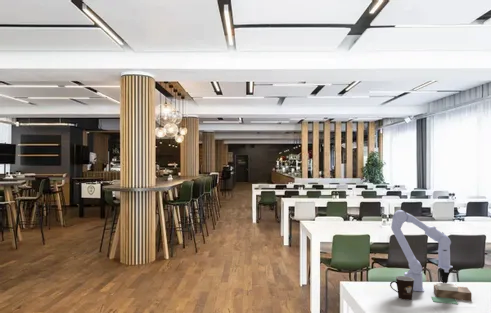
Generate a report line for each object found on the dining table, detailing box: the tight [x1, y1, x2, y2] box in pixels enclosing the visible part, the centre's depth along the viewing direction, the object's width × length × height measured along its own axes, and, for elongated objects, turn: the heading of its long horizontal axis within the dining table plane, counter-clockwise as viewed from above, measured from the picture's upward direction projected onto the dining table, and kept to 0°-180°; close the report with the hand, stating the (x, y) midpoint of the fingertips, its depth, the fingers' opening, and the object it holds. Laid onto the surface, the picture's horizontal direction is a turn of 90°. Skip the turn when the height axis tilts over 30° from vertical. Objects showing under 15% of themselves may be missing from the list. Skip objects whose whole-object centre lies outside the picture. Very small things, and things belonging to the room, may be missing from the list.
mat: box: [430, 296, 459, 305], centre depth 195 cm, size 11×8×1 cm
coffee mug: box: [389, 275, 414, 301], centre depth 200 cm, size 12×9×10 cm
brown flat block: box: [433, 283, 473, 302], centre depth 203 cm, size 16×10×4 cm, turn 71°
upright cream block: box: [436, 282, 459, 291], centre depth 202 cm, size 9×6×2 cm, turn 71°
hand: (444, 282), depth 210 cm, fingers closed
